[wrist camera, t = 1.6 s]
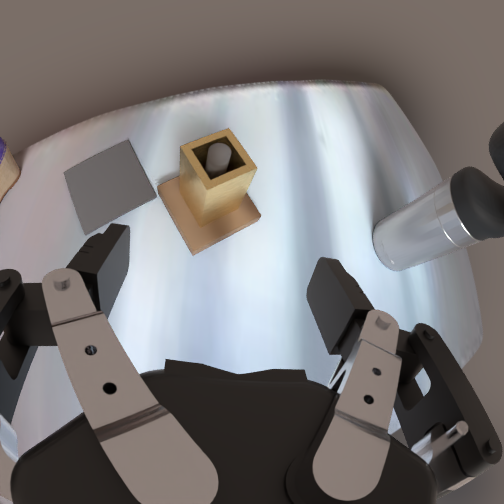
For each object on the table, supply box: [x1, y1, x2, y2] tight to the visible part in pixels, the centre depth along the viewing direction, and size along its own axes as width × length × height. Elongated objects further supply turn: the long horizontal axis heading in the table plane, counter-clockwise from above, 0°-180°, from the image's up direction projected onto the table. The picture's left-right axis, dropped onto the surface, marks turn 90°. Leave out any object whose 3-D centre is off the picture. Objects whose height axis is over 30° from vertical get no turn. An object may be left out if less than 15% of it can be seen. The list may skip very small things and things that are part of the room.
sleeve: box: [180, 128, 257, 228], centre depth 31 cm, size 6×6×10 cm
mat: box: [64, 140, 156, 235], centre depth 35 cm, size 11×11×1 cm
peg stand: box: [157, 143, 261, 255], centre depth 32 cm, size 10×10×13 cm
